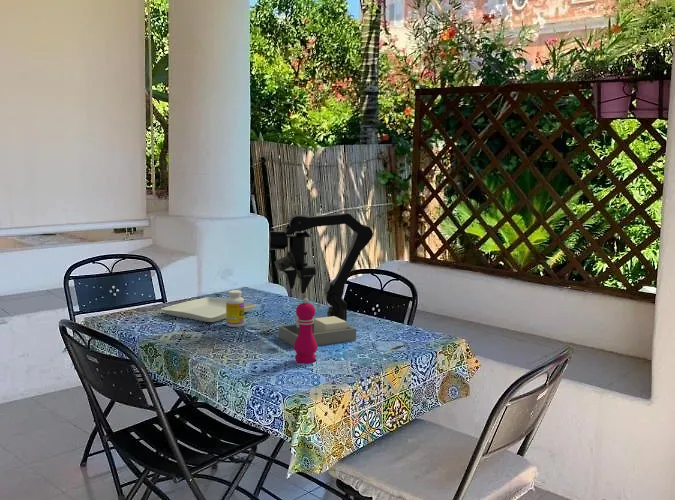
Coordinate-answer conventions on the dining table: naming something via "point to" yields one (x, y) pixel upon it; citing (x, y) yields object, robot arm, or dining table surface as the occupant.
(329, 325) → the cream hollow cover
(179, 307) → the square plate
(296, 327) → the tin
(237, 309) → the supplement bottle
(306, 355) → the pepper mill
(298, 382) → the dining table surface
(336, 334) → the tote
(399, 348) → the butter knife
